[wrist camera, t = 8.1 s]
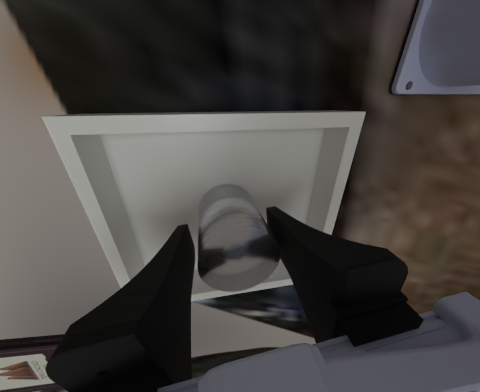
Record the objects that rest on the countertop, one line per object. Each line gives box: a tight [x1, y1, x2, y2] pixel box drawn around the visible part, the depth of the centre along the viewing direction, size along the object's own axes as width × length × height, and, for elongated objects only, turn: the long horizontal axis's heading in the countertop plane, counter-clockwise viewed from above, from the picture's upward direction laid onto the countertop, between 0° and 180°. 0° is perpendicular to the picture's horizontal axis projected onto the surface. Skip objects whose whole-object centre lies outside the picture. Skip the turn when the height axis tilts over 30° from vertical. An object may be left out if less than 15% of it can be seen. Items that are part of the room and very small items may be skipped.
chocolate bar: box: [0, 334, 65, 392], centre depth 20 cm, size 9×1×18 cm
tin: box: [197, 184, 280, 292], centre depth 12 cm, size 4×4×6 cm
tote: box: [42, 110, 366, 301], centre depth 14 cm, size 16×14×3 cm
